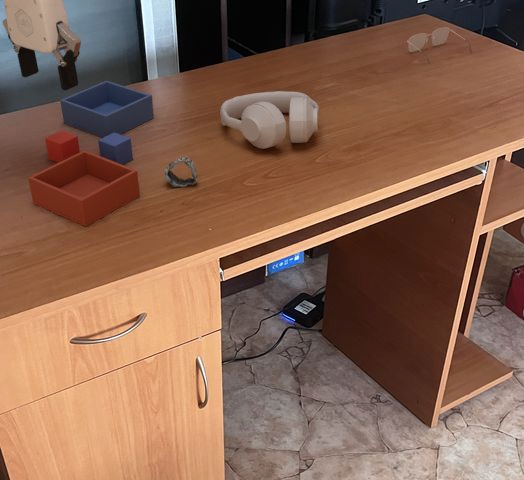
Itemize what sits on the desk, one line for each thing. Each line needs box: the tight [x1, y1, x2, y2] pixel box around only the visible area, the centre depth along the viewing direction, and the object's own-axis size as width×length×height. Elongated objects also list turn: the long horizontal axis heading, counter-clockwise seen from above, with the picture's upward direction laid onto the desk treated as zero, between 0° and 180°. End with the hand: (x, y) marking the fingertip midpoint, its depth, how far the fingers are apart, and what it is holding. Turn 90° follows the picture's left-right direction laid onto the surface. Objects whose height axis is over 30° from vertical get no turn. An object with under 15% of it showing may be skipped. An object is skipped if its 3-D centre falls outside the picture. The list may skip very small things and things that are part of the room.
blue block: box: [97, 132, 134, 165], centre depth 138 cm, size 4×4×4 cm
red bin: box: [27, 149, 141, 228], centre depth 127 cm, size 12×12×5 cm
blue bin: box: [59, 80, 155, 139], centre depth 150 cm, size 12×12×5 cm
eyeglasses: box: [406, 26, 473, 64], centre depth 180 cm, size 14×8×4 cm, turn 124°
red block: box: [44, 130, 81, 163], centre depth 138 cm, size 4×4×4 cm
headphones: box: [219, 90, 320, 149], centre depth 146 cm, size 18×8×20 cm
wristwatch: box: [164, 155, 198, 188], centre depth 131 cm, size 3×5×5 cm
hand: (50, 81), depth 131 cm, fingers open, 9 cm apart
